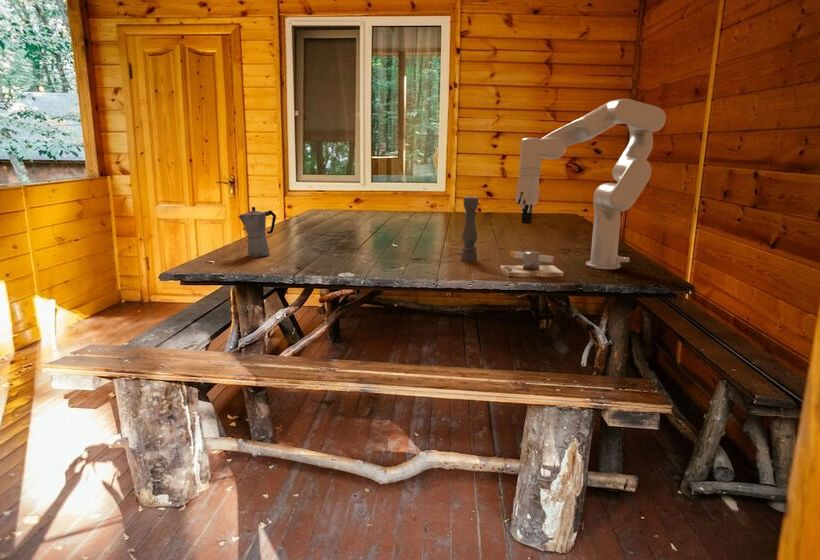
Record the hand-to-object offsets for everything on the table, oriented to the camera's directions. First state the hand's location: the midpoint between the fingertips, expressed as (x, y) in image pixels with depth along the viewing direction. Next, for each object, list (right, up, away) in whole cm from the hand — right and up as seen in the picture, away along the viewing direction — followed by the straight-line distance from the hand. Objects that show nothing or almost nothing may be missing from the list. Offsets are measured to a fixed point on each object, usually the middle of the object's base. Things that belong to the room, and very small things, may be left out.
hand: (526, 223), depth 208 cm
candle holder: (-19, -13, +17) cm, 29 cm away
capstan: (+1, -17, -4) cm, 17 cm away
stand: (+1, -18, -4) cm, 19 cm away
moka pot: (-105, -11, +24) cm, 108 cm away
